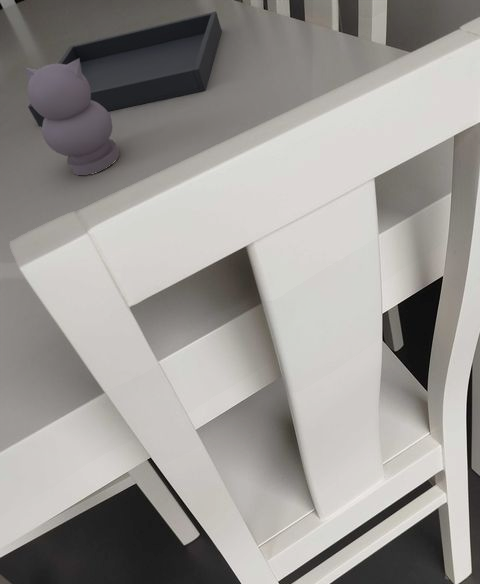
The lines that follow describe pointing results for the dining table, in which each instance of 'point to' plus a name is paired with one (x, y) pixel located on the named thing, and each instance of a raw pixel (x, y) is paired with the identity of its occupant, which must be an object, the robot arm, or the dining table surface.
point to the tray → (147, 62)
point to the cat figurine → (72, 117)
